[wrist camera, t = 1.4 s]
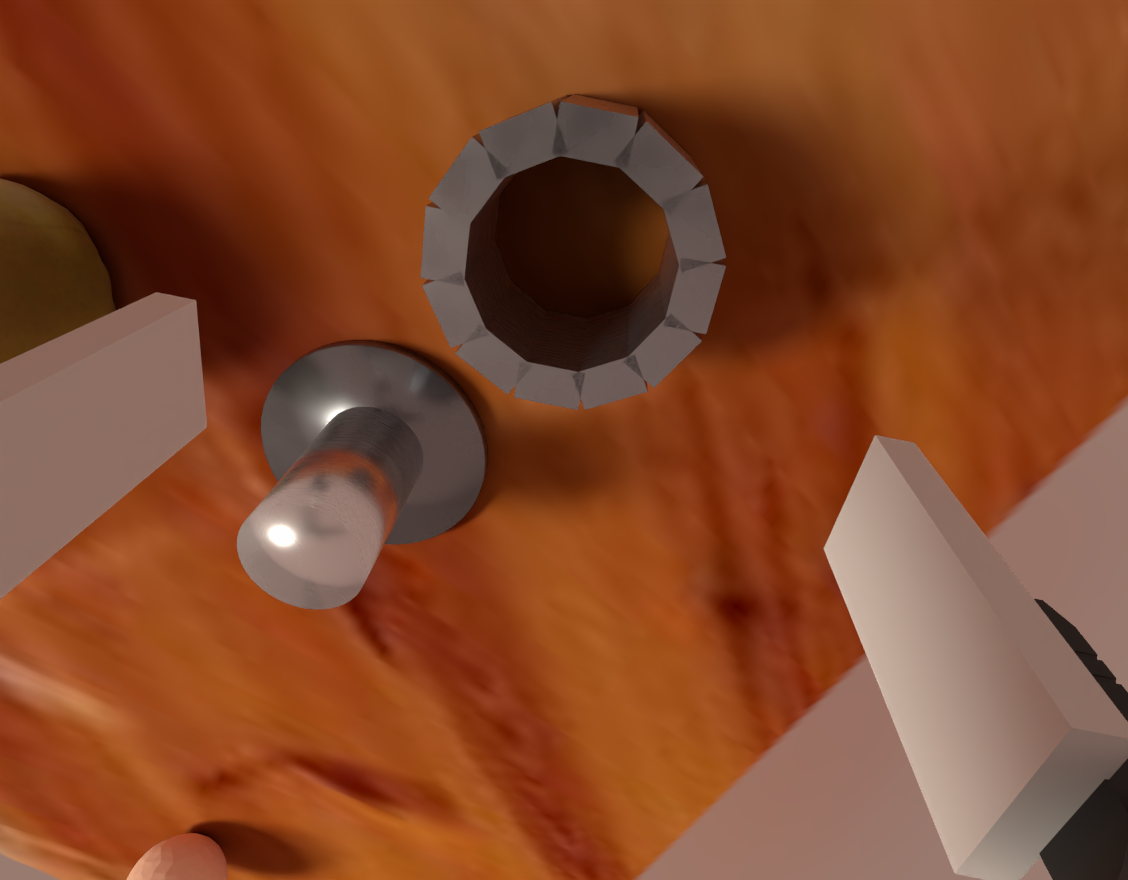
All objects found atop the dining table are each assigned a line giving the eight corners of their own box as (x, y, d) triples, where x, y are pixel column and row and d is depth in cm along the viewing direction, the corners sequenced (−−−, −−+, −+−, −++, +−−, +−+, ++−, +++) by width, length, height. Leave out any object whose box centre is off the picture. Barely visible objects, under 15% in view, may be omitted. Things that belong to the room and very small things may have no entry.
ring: (475, 74, 26) (435, 76, 21) (735, 126, 26) (762, 142, 21) (450, 324, 31) (413, 377, 25) (670, 367, 31) (677, 429, 25)
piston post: (264, 318, 31) (140, 403, 23) (501, 365, 31) (457, 466, 23) (272, 513, 37) (174, 635, 29) (474, 552, 37) (432, 685, 29)
